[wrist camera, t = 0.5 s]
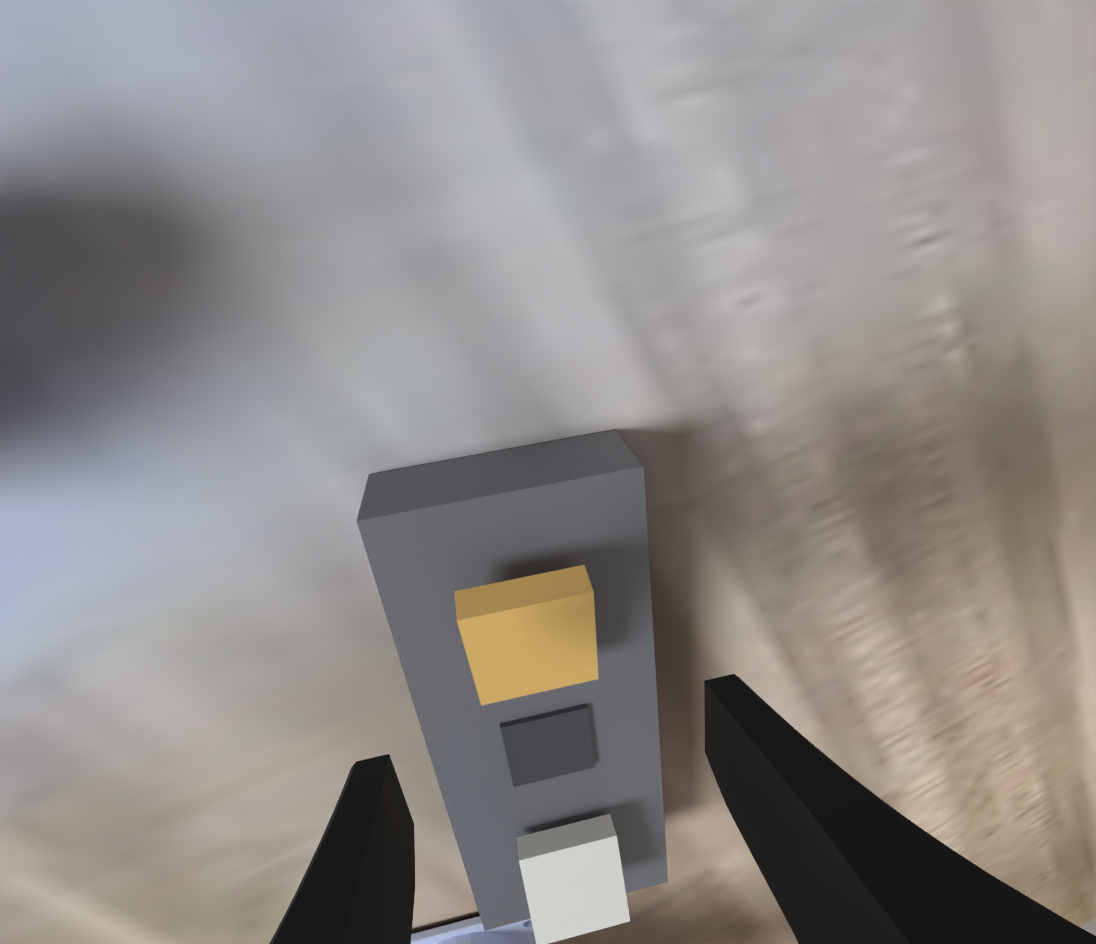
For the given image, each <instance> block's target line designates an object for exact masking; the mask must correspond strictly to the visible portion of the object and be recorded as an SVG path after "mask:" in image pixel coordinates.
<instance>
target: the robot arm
mask: <svg viewBox="0 0 1096 944" xmlns="http://www.w3.org/2000/svg"><path fill="white" fill-rule="evenodd" d="M704 684H705V753H706V756H707V758H708V761H709V763H710V766H711V768H712V771H713V773H714V776H715V779H716V781H717V784H718V786H719V788H720V791H721V793H722V796H723V798H724V800H725V803H726V805H727V807H728V809H729V811H730V813H731V815H732V817H733V819H734V821H735V823H736V825H737V827H738V829H739V830H740V832H741V834H742V836H743V838H744V840H745V842H746V844H747V846H748V848H749V850H750V851H751V853H752V855H753V857H754V859H755V861H756V863H757V865H758V867H759V868H760V870H761V872H762V874H763V876H764V878H765V880H766V882H767V884H768V885H769V887H770V889H771V891H772V893H773V895H774V897H775V899H776V901H777V902H778V904H779V906H780V908H781V910H782V912H783V914H784V916H785V918H786V919H787V921H788V923H789V925H790V927H791V929H792V931H793V933H794V935H795V937H796V939H797V941H798V943H799V944H1096V936H1094V935H1093V934H1091V933H1089V932H1087V931H1085V930H1084V929H1082V928H1080V927H1078V926H1076V925H1074V924H1073V923H1071V922H1069V921H1067V920H1066V919H1064V918H1062V917H1061V916H1059V915H1057V914H1056V913H1054V912H1052V911H1051V910H1049V909H1047V908H1046V907H1044V906H1042V905H1041V904H1039V903H1037V902H1036V901H1034V900H1032V899H1030V898H1029V897H1027V896H1025V895H1024V894H1022V893H1020V892H1019V891H1017V890H1015V889H1014V888H1012V887H1010V886H1009V885H1007V884H1005V883H1004V882H1002V881H1000V880H999V879H997V878H995V877H994V876H992V875H990V874H989V873H987V872H986V871H984V870H983V869H981V868H979V867H978V866H976V865H975V864H973V863H972V862H970V861H969V860H967V859H966V858H964V857H963V856H961V855H959V854H958V853H956V852H955V851H953V850H952V849H950V848H949V847H947V846H946V845H944V844H943V843H941V842H940V841H939V840H937V839H936V838H934V837H933V836H931V835H930V834H928V833H927V832H925V831H924V830H923V829H921V828H920V827H918V826H917V825H915V824H914V823H913V822H911V821H910V820H908V819H907V818H906V817H904V816H903V815H901V814H900V813H899V812H897V811H896V810H895V809H893V808H892V807H891V806H889V805H888V804H887V803H885V802H884V801H883V800H881V799H880V798H879V797H877V796H876V795H875V794H873V793H872V792H871V791H870V790H868V789H867V788H866V787H864V786H863V785H862V784H860V783H859V782H858V781H857V780H855V779H854V778H853V777H852V776H850V775H849V774H848V773H847V772H845V771H844V770H843V769H842V768H840V767H839V766H838V765H837V764H836V763H834V762H833V761H832V760H831V759H830V758H828V757H827V756H826V755H825V754H824V753H822V752H821V751H820V750H819V749H818V748H816V747H815V746H814V745H813V744H812V743H811V742H809V741H808V740H807V739H806V738H805V737H804V736H802V735H801V734H800V733H799V732H798V731H797V730H795V729H794V728H793V727H792V726H791V725H790V724H789V723H788V722H787V721H785V720H784V719H783V718H782V717H781V716H780V715H779V714H778V713H776V712H775V711H774V710H773V709H772V708H771V707H770V706H769V705H768V704H767V703H766V702H765V701H763V700H762V699H761V698H760V697H759V696H758V695H757V694H756V693H755V692H754V691H753V690H752V689H751V688H750V687H749V686H747V685H746V684H745V683H744V682H743V681H742V680H741V679H740V678H739V677H738V676H736V675H735V674H732V675H727V676H723V677H719V678H714V679H710V680H706V681H704ZM414 893H415V850H414V823H413V820H412V817H411V814H410V812H409V809H408V806H407V803H406V800H405V798H404V795H403V792H402V789H401V786H400V783H399V781H398V778H397V775H396V772H395V769H394V767H393V764H392V761H391V758H390V755H389V754H387V755H383V756H379V757H374V758H370V759H366V760H361V761H357V762H356V763H355V764H354V765H353V766H352V768H351V770H350V773H349V775H348V778H347V780H346V783H345V785H344V788H343V790H342V793H341V795H340V797H339V800H338V802H337V805H336V807H335V809H334V812H333V814H332V816H331V819H330V821H329V823H328V825H327V828H326V830H325V832H324V834H323V837H322V839H321V841H320V843H319V846H318V848H317V850H316V852H315V854H314V856H313V858H312V860H311V862H310V865H309V867H308V869H307V871H306V873H305V875H304V877H303V879H302V881H301V883H300V886H299V888H298V890H297V892H296V894H295V896H294V898H293V900H292V902H291V904H290V906H289V908H288V910H287V912H286V914H285V915H284V917H283V919H282V921H281V923H280V925H279V927H278V929H277V931H276V933H275V934H274V936H273V938H272V940H271V942H270V944H536V940H535V935H534V930H533V926H532V921H531V919H527V920H523V921H520V922H516V923H512V924H508V925H505V926H501V927H497V928H493V929H490V930H486V931H485V930H484V927H483V924H482V921H481V918H480V916H478V917H474V918H470V919H467V920H463V921H459V922H455V923H451V924H448V925H444V926H440V927H436V928H433V929H429V930H425V931H421V932H417V933H414V934H411V933H412V920H413V907H414Z"/></svg>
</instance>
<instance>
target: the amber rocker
mask: <svg viewBox="0 0 1096 944" xmlns="http://www.w3.org/2000/svg"><path fill="white" fill-rule="evenodd" d="M454 594H455V606H456V617H457V623H458V627H459V630H460V634H461V637H462V641H463V644H464V648H465V651H466V654H467V658H468V661H469V665H470V668H471V672H472V675H473V679H474V682H475V686H476V689H477V693H478V696H479V700H480V703H481V706H482V705H486V704H491V703H495V702H500V701H504V700H508V699H513V698H517V697H522V696H526V695H530V694H535V693H539V692H544V691H548V690H552V689H557V688H561V687H566V686H570V685H574V684H579V683H583V682H588V681H592V680H596V679H599V678H598V660H597V643H596V625H595V607H594V592H593V589H592V586H591V583H590V580H589V577H588V574H587V571H586V568H585V565H580V566H575V567H571V568H566V569H561V570H556V571H551V572H546V573H541V574H537V575H532V576H527V577H522V578H517V579H512V580H507V581H503V582H498V583H493V584H488V585H483V586H478V587H474V588H469V589H464V590H459V591H454Z"/></svg>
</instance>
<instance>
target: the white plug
mask: <svg viewBox="0 0 1096 944" xmlns="http://www.w3.org/2000/svg"><path fill="white" fill-rule="evenodd" d="M516 839H517V848H518V858H519V864H520V869H521V873H522V878H523V883H524V888H525V892H526V897H527V902H528V907H529V911H530V916H531V921H532V926H533V930H534V935H535V940H536V944H549V943H553V942H556V941H560V940H564V939H567V938H571V937H575V936H578V935H582V934H586V933H589V932H593V931H597V930H600V929H604V928H608V927H611V926H615V925H619V924H622V923H626V922H630V916H629V910H628V904H627V897H626V891H625V885H624V878H623V872H622V866H621V859H620V853H619V847H618V840H617V835H616V832H615V828H614V825H613V822H612V819H611V815H610V814H607V815H603V816H599V817H595V818H591V819H587V820H583V821H579V822H575V823H571V824H568V825H564V826H560V827H556V828H552V829H548V830H544V831H540V832H536V833H532V834H528V835H524V836H520V837H516Z"/></svg>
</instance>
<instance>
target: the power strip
mask: <svg viewBox="0 0 1096 944" xmlns="http://www.w3.org/2000/svg"><path fill="white" fill-rule="evenodd" d="M357 523H358V527H359V530H360V533H361V536H362V540H363V543H364V546H365V549H366V552H367V556H368V559H369V562H370V565H371V568H372V572H373V575H374V578H375V581H376V584H377V588H378V591H379V594H380V597H381V600H382V604H383V607H384V610H385V613H386V616H387V620H388V623H389V626H390V629H391V632H392V636H393V639H394V642H395V645H396V648H397V652H398V655H399V658H400V661H401V664H402V668H403V671H404V674H405V677H406V681H407V684H408V687H409V690H410V693H411V697H412V700H413V703H414V706H415V709H416V713H417V716H418V719H419V722H420V725H421V729H422V732H423V735H424V738H425V741H426V745H427V748H428V751H429V754H430V757H431V761H432V764H433V767H434V770H435V773H436V777H437V780H438V783H439V786H440V789H441V793H442V796H443V799H444V802H445V805H446V809H447V812H448V815H449V818H450V822H451V825H452V828H453V831H454V834H455V838H456V841H457V844H458V847H459V850H460V854H461V857H462V860H463V863H464V866H465V870H466V873H467V876H468V879H469V882H470V886H471V889H472V892H473V895H474V898H475V902H476V905H477V908H478V911H479V914H480V918H481V921H482V924H483V927H484V930H485V931H486V930H490V929H493V928H497V927H501V926H505V925H508V924H512V923H516V922H520V921H523V920H527V919H531V916H530V911H529V907H528V902H527V897H526V892H525V888H524V883H523V878H522V873H521V869H520V864H519V858H518V848H517V839H516V837H520V836H524V835H528V834H532V833H536V832H540V831H544V830H548V829H552V828H556V827H560V826H564V825H568V824H571V823H575V822H579V821H583V820H587V819H591V818H595V817H599V816H603V815H607V814H610V815H611V819H612V822H613V825H614V828H615V832H616V835H617V840H618V847H619V853H620V859H621V866H622V872H623V878H624V885H625V891H626V893H628V892H632V891H636V890H639V889H643V888H647V887H651V886H654V885H658V884H662V883H665V882H668V876H667V858H666V841H665V824H664V806H663V789H662V772H661V754H660V737H659V719H658V702H657V685H656V667H655V650H654V633H653V615H652V598H651V580H650V563H649V546H648V528H647V511H646V494H645V476H644V466H643V464H642V463H641V462H640V461H639V459H638V458H637V457H636V456H635V454H634V453H633V452H632V451H631V449H630V448H629V447H628V446H627V444H626V443H625V442H624V440H623V439H622V438H621V437H620V435H619V434H618V433H617V432H616V430H609V431H604V432H598V433H593V434H588V435H582V436H577V437H571V438H566V439H560V440H555V441H549V442H544V443H538V444H533V445H527V446H522V447H517V448H511V449H506V450H500V451H495V452H489V453H484V454H478V455H473V456H467V457H462V458H456V459H451V460H445V461H440V462H435V463H429V464H424V465H418V466H413V467H407V468H402V469H396V470H391V471H385V472H380V473H374V474H369V476H368V480H367V484H366V487H365V491H364V495H363V499H362V503H361V507H360V510H359V514H358V518H357ZM580 565H585V568H586V571H587V574H588V577H589V580H590V583H591V586H592V589H593V592H594V607H595V625H596V643H597V660H598V678H599V679H596V680H592V681H588V682H583V683H579V684H574V685H570V686H566V687H561V688H557V689H552V690H548V691H544V692H539V693H535V694H530V695H526V696H522V697H517V698H513V699H508V700H504V701H500V702H495V703H491V704H486V705H482V706H481V703H480V700H479V696H478V693H477V689H476V686H475V682H474V679H473V675H472V672H471V668H470V665H469V661H468V658H467V654H466V651H465V648H464V644H463V641H462V637H461V634H460V630H459V627H458V623H457V617H456V606H455V594H454V591H459V590H464V589H469V588H474V587H478V586H483V585H488V584H493V583H498V582H503V581H507V580H512V579H517V578H522V577H527V576H532V575H537V574H541V573H546V572H551V571H556V570H561V569H566V568H571V567H575V566H580Z"/></svg>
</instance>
